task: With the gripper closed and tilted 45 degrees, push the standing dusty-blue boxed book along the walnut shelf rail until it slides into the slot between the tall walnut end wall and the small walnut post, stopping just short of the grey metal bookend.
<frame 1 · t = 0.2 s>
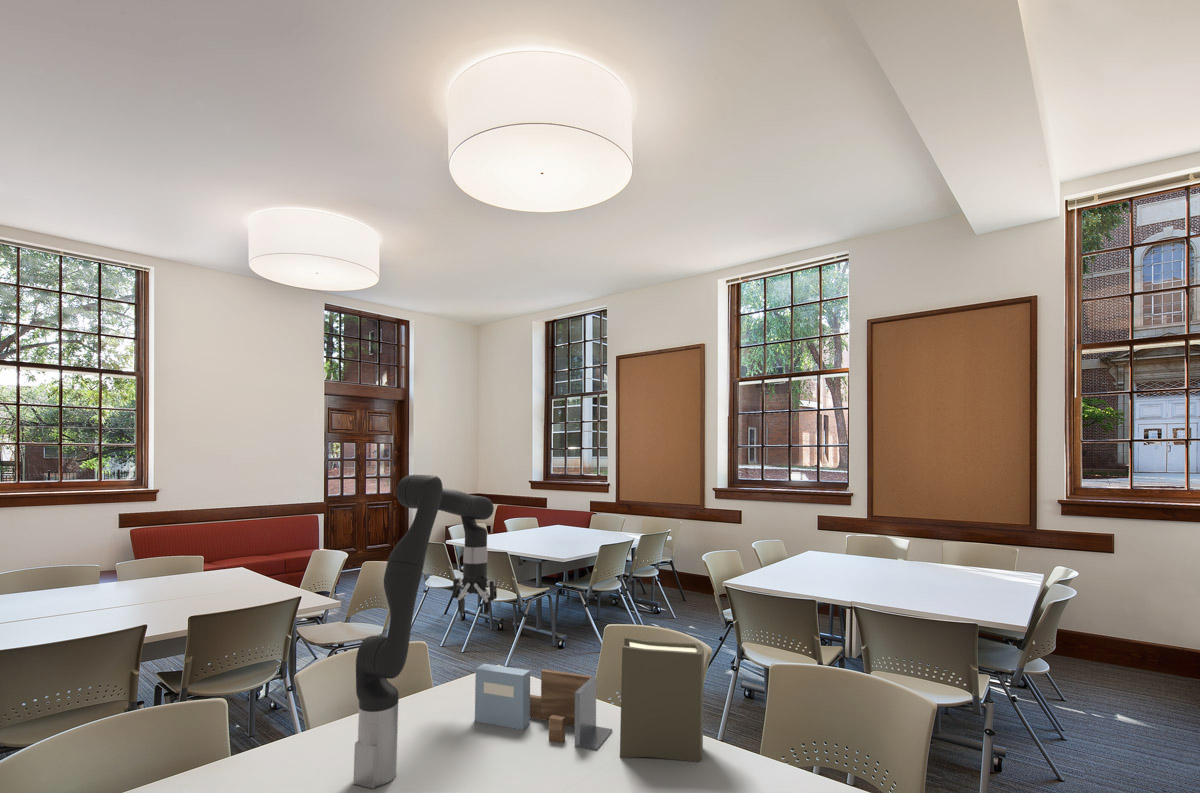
hand: (474, 612, 192), 29 cm above the table, tool pointing down, fingers open, 8 cm apart
shelf rail: (546, 719, 181), on the table
bookend: (585, 737, 170), on the table
boxed book: (502, 722, 179), on the table
book: (662, 752, 162), on the table
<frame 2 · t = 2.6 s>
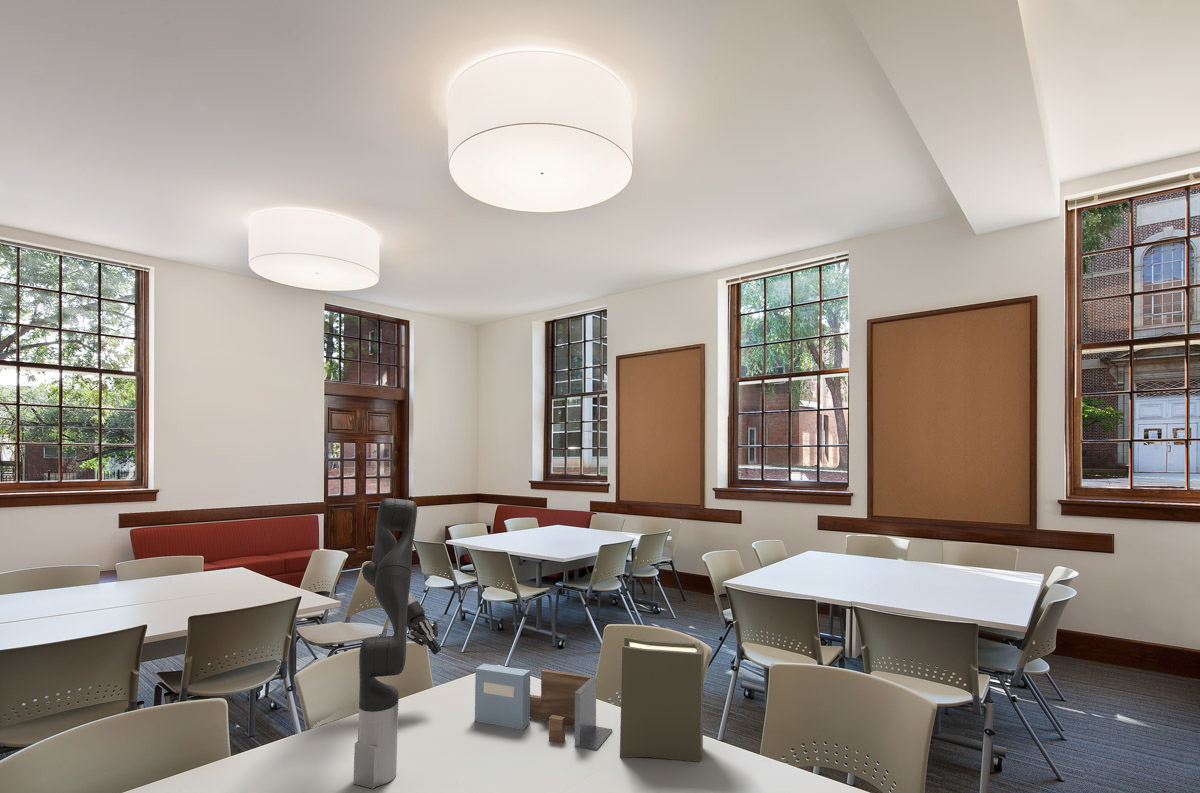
hand: (438, 652, 189), 17 cm above the table, tool tilted 45°, fingers closed
nothing on the table moved.
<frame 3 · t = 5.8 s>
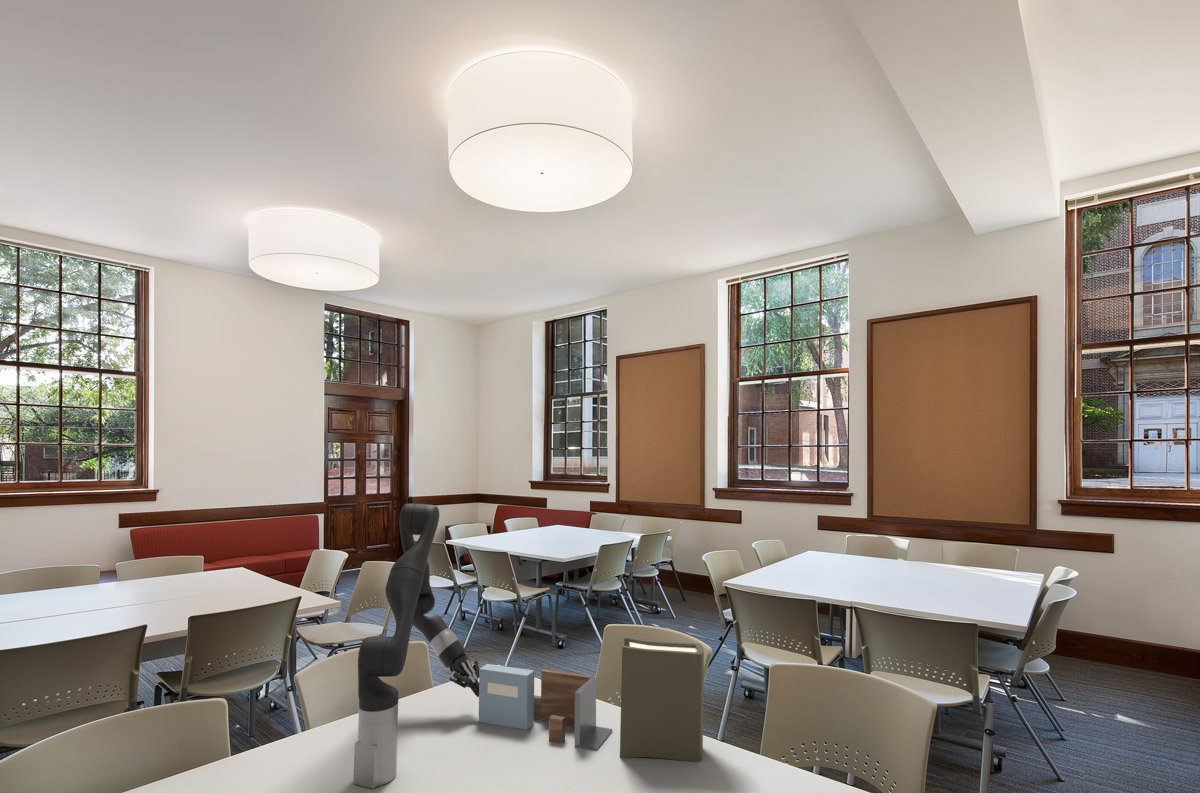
hand: (481, 694, 183), 7 cm above the table, tool tilted 45°, fingers closed
boxed book: (506, 722, 179), on the table, touching gripper
everything else where it was.
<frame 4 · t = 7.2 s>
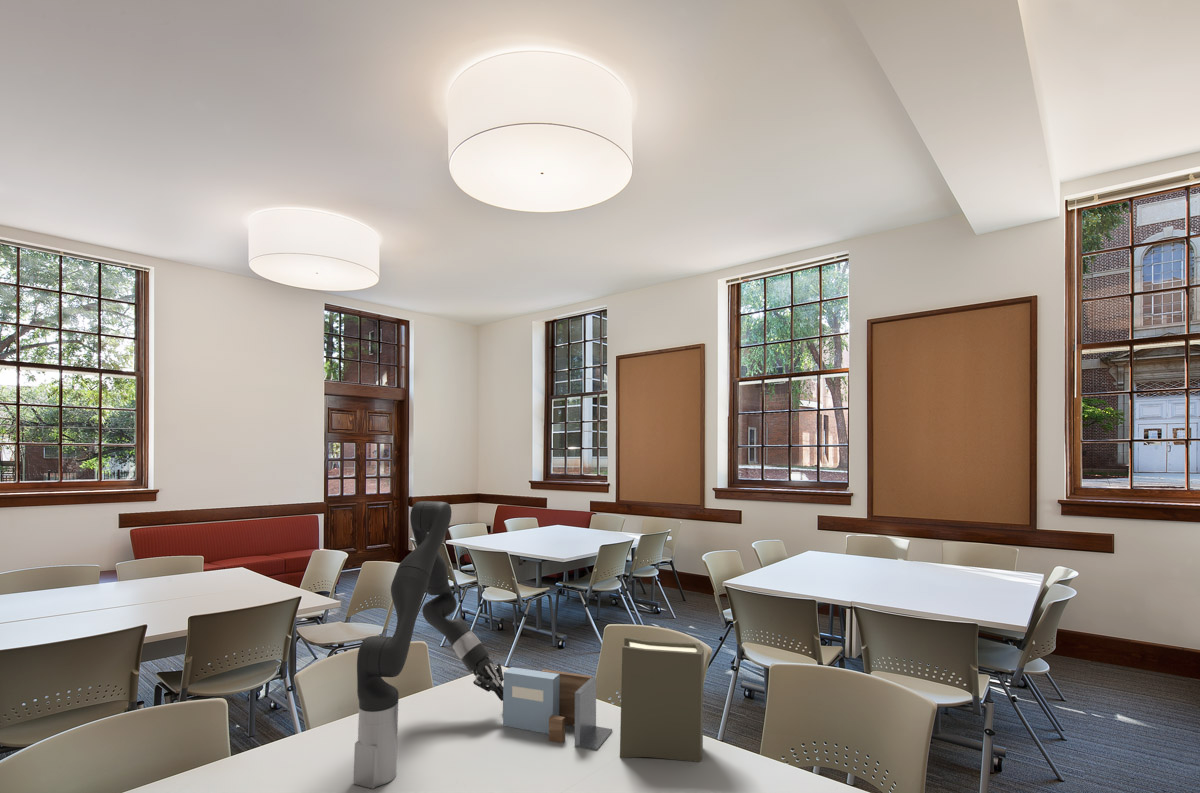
hand: (505, 698, 180), 7 cm above the table, tool tilted 45°, fingers closed
boxed book: (530, 726, 176), on the table, touching gripper
everything else where it was.
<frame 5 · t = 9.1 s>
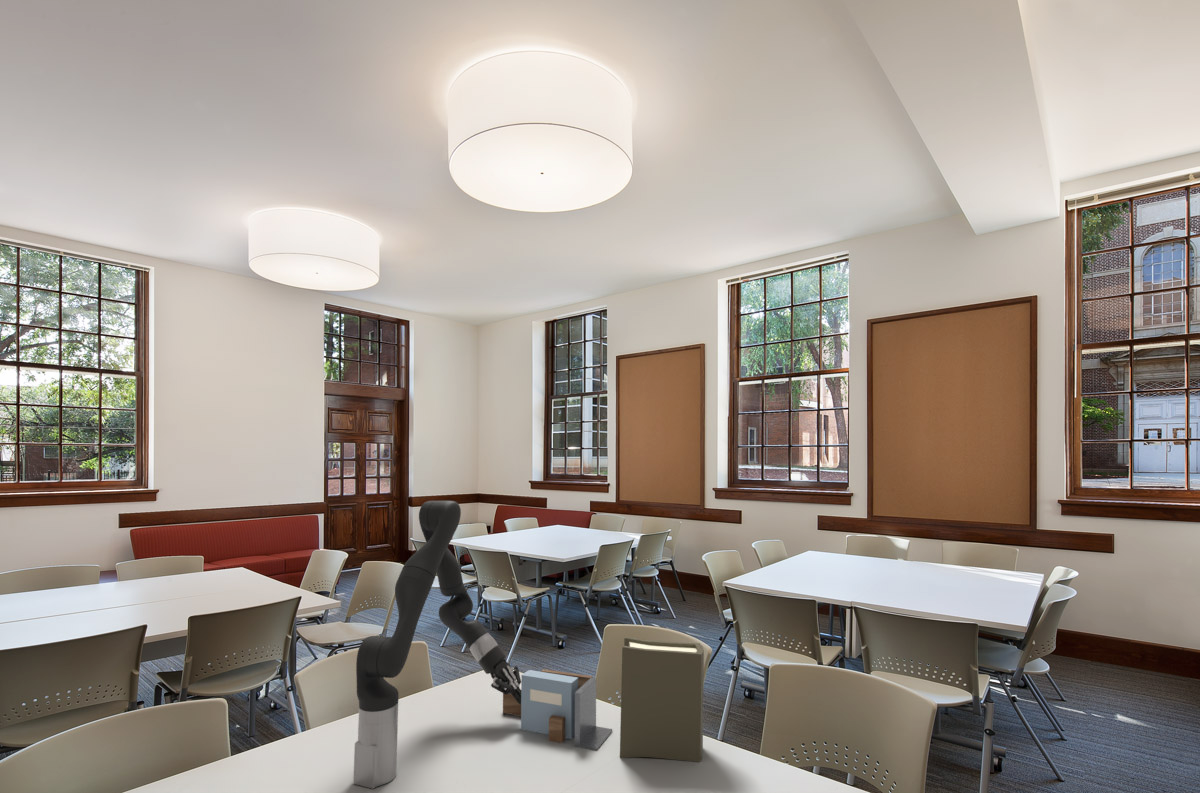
hand: (523, 701, 178), 7 cm above the table, tool tilted 45°, fingers closed
boxed book: (549, 730, 174), on the table, touching gripper
everything else where it was.
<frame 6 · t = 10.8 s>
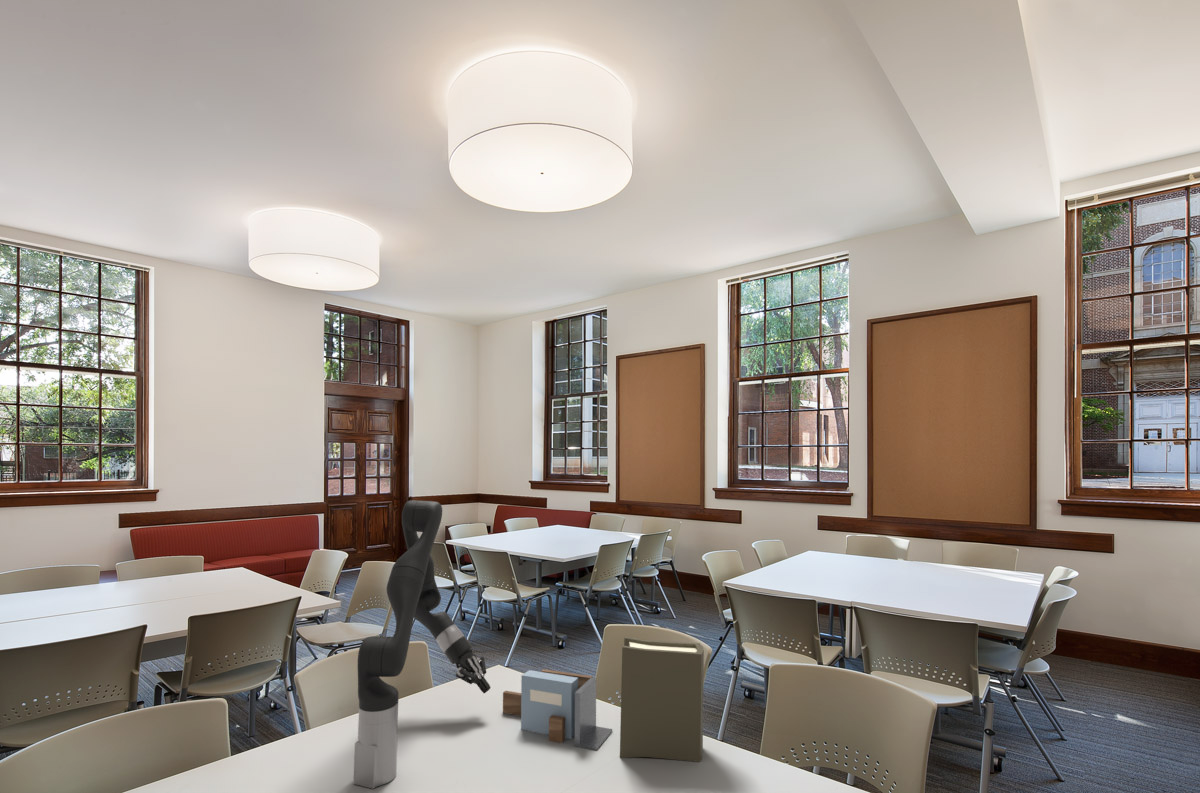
hand: (487, 690, 182), 8 cm above the table, tool tilted 45°, fingers closed
boxed book: (549, 730, 174), on the table
everything else where it was.
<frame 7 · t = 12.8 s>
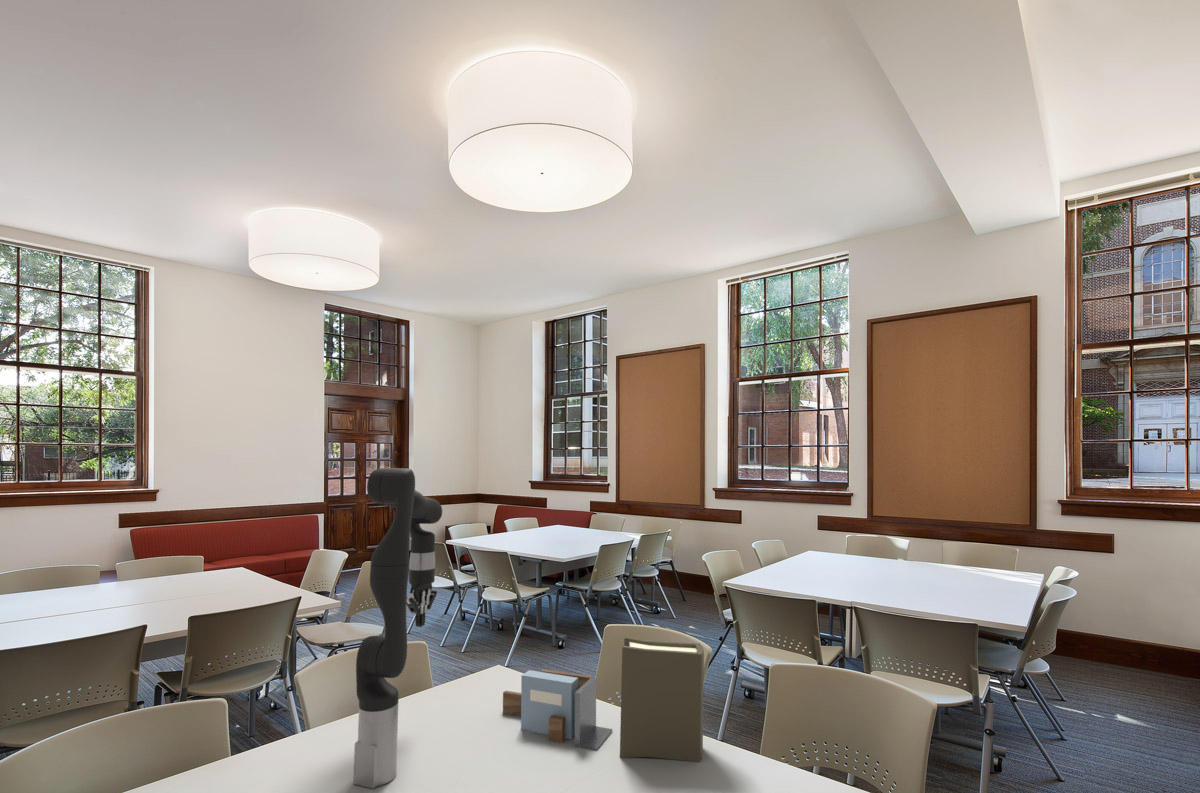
hand: (420, 625, 182), 27 cm above the table, tool pointing down, fingers closed
nothing on the table moved.
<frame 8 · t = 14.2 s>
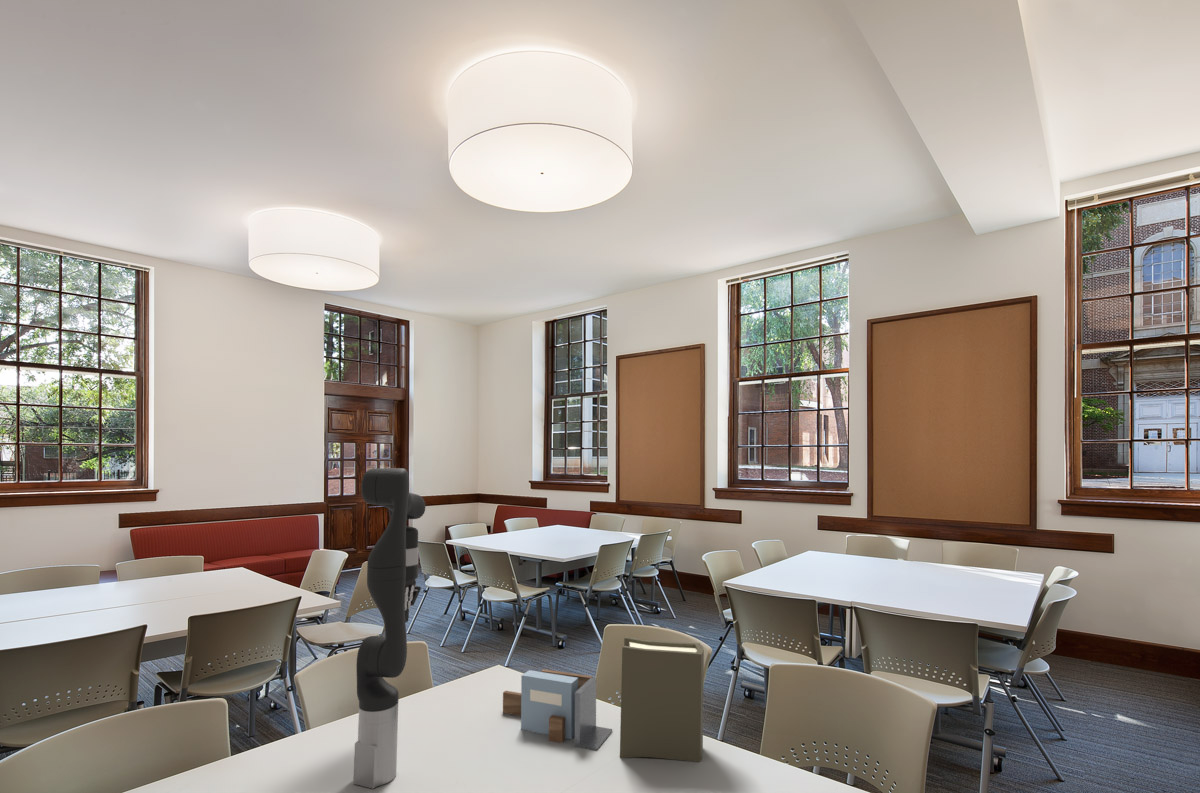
hand: (403, 622, 181), 29 cm above the table, tool pointing down, fingers closed
nothing on the table moved.
at the end: boxed book inside the target area (1.0 cm from its centre), on the table; boxed book tilted 0°; boxed book moved 15.5 cm from its start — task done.
